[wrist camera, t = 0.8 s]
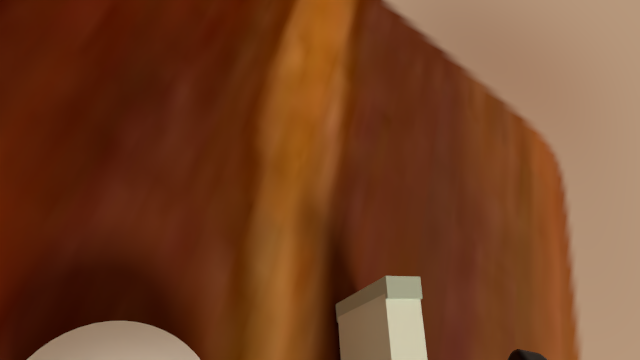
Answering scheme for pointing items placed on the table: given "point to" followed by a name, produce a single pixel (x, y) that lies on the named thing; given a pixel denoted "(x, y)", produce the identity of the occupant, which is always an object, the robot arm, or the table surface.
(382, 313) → the off-white flat block
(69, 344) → the off-white rounded piece
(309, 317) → the table surface
